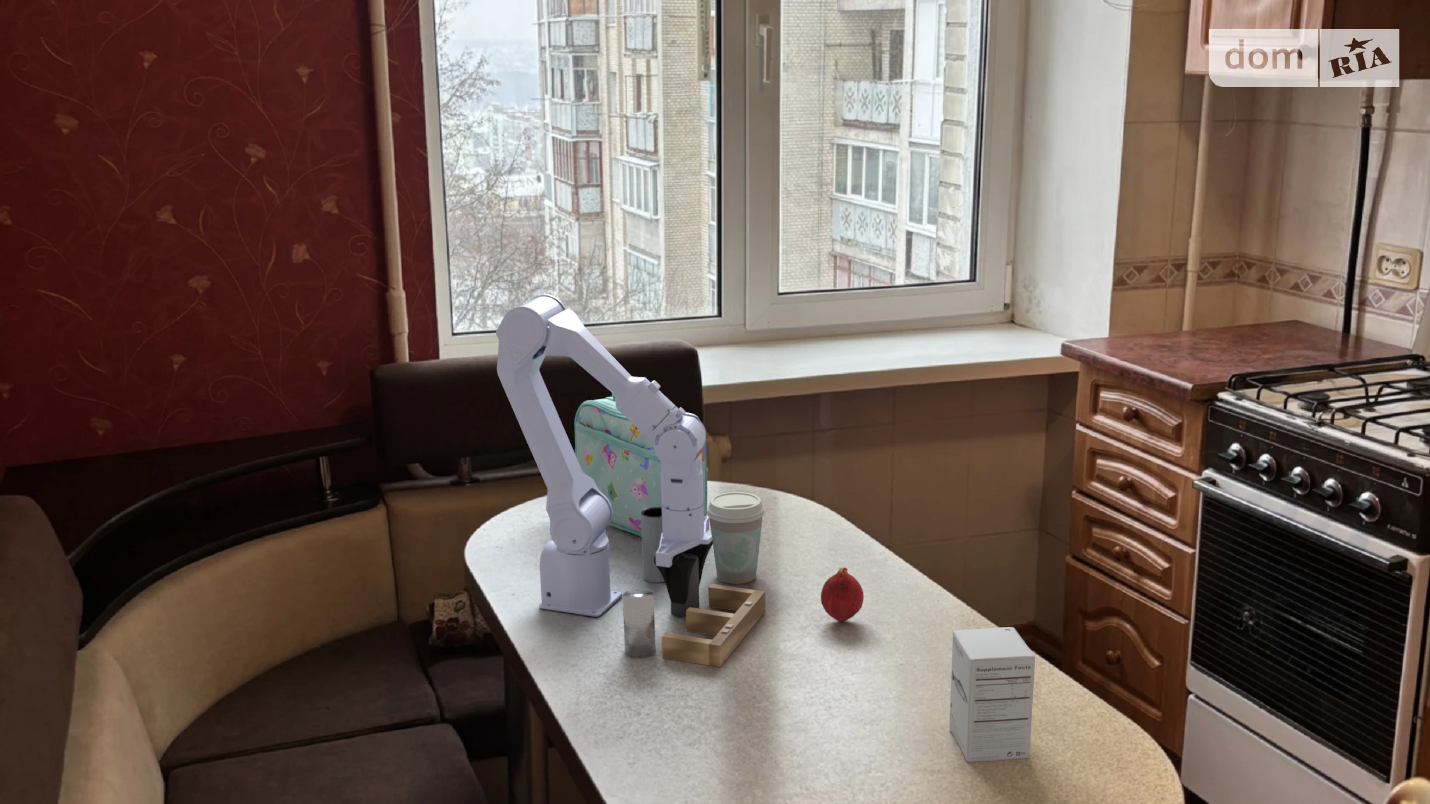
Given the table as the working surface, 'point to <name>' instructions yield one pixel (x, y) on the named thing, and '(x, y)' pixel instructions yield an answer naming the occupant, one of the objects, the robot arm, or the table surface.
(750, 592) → the rack
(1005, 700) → the supplement box
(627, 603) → the grey rod
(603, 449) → the lunch box
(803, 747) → the table surface
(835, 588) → the onion
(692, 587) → the dark grey cylinder
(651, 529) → the grey tubular piece
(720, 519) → the coffee cup
